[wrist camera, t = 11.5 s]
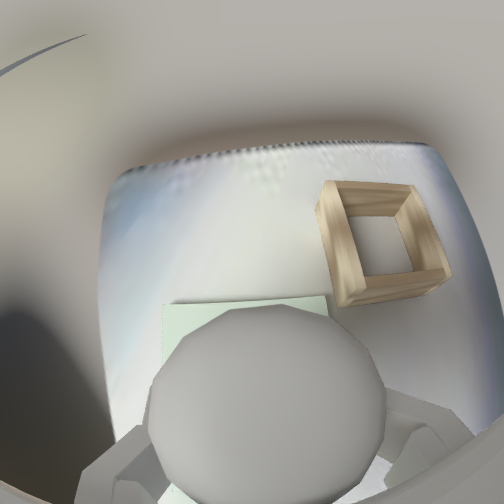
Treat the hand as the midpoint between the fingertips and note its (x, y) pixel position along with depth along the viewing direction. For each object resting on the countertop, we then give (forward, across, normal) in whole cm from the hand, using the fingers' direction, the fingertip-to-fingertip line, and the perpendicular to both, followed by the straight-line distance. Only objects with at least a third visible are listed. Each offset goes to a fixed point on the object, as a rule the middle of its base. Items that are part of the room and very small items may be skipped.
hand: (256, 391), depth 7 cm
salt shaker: (+6, 0, +7) cm, 9 cm away
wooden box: (+15, -13, +1) cm, 20 cm away
